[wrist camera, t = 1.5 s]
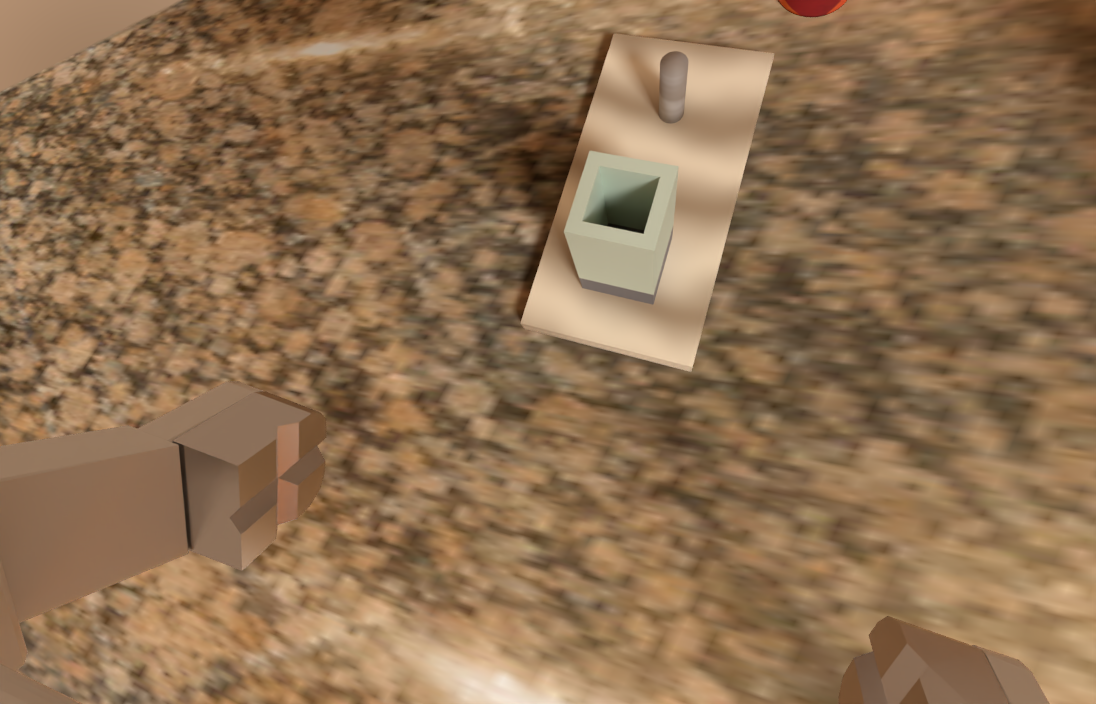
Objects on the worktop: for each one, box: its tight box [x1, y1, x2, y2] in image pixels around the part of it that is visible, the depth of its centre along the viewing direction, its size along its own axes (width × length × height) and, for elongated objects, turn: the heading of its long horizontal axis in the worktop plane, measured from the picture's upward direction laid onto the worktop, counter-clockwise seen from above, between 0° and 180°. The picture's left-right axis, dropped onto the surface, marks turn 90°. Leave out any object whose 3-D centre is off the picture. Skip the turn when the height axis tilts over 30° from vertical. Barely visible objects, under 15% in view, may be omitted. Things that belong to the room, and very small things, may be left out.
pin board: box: [521, 33, 775, 372], centre depth 39 cm, size 24×12×6 cm, turn 163°
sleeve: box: [564, 151, 679, 305], centre depth 35 cm, size 5×5×9 cm
